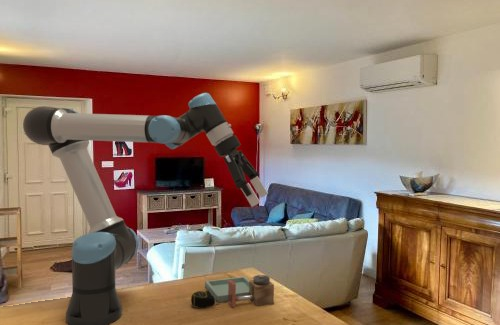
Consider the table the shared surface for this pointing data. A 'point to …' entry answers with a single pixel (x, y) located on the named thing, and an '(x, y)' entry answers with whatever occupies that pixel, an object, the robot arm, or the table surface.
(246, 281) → the tray
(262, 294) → the pulley block
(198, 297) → the tape measure
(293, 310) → the table surface
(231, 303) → the lock pin
